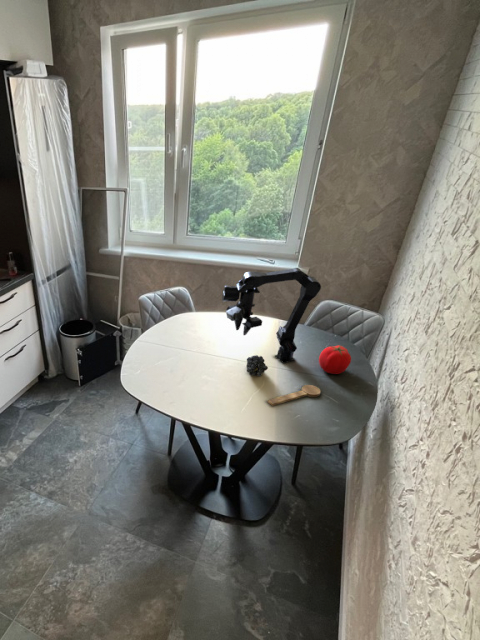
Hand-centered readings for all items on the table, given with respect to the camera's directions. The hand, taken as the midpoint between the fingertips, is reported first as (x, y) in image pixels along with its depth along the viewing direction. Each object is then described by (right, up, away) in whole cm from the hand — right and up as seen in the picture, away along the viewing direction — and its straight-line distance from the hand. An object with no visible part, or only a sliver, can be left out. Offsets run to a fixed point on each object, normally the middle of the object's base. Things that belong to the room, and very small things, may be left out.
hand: (240, 332), depth 185 cm
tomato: (+39, -18, -6) cm, 43 cm away
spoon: (+14, -29, -21) cm, 38 cm away
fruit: (+5, -18, -3) cm, 19 cm away
